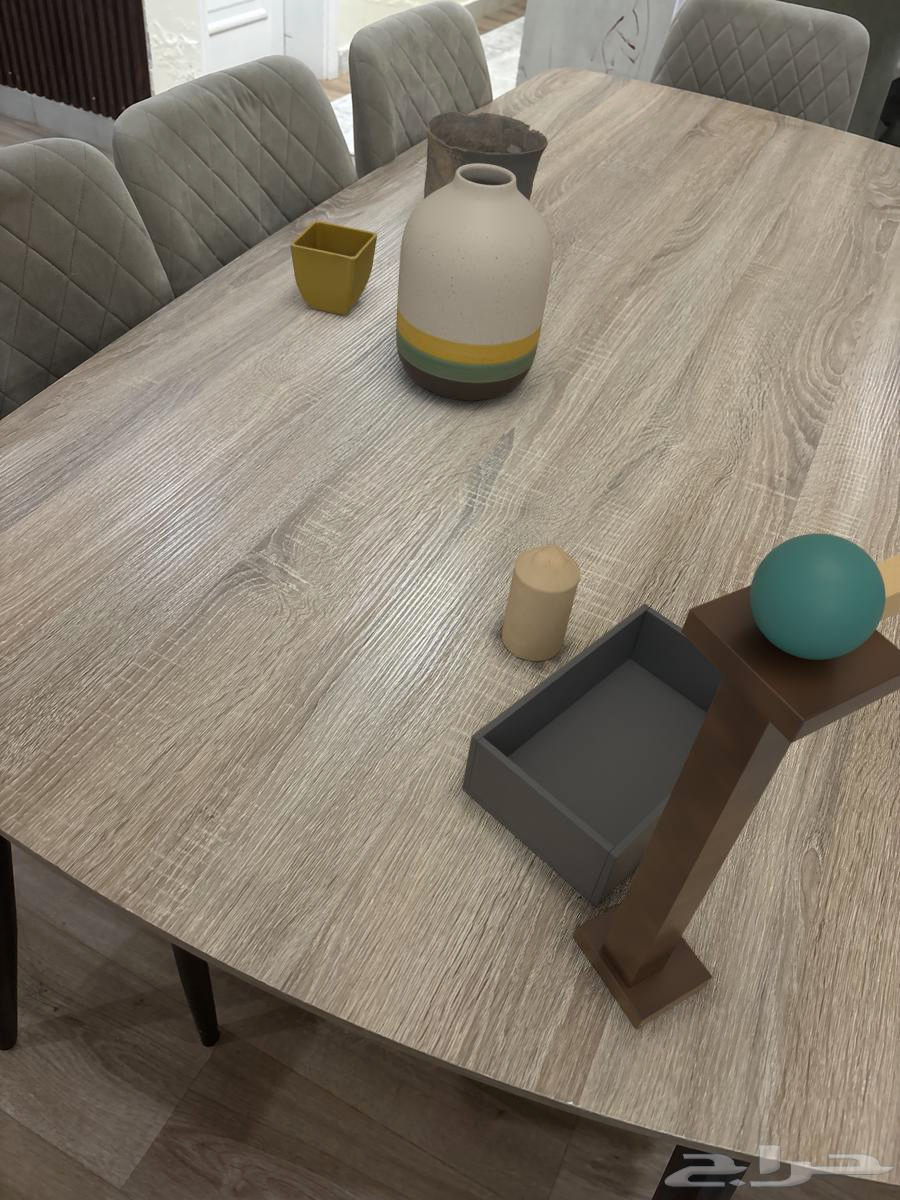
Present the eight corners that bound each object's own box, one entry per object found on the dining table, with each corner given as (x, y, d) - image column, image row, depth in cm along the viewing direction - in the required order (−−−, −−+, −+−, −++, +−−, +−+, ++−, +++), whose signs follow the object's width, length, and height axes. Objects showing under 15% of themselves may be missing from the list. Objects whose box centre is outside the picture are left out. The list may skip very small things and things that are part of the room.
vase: (365, 364, 115) (372, 160, 98) (467, 328, 123) (490, 136, 107) (456, 431, 106) (481, 219, 90) (559, 387, 115) (599, 188, 98)
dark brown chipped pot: (541, 223, 151) (557, 123, 141) (522, 268, 138) (538, 162, 128) (434, 203, 153) (442, 103, 142) (405, 245, 140) (412, 139, 130)
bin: (754, 746, 77) (781, 694, 73) (596, 907, 66) (616, 858, 61) (627, 655, 83) (644, 602, 79) (461, 788, 72) (471, 735, 67)
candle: (515, 609, 86) (532, 525, 79) (571, 631, 85) (593, 548, 78) (491, 647, 83) (506, 562, 76) (549, 671, 81) (570, 587, 74)
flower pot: (315, 283, 129) (314, 218, 122) (375, 297, 127) (378, 232, 121) (290, 311, 122) (288, 244, 116) (353, 326, 121) (355, 258, 115)
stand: (706, 986, 62) (919, 664, 40) (624, 1037, 59) (804, 721, 37) (641, 899, 66) (801, 564, 44) (560, 943, 63) (689, 608, 41)
